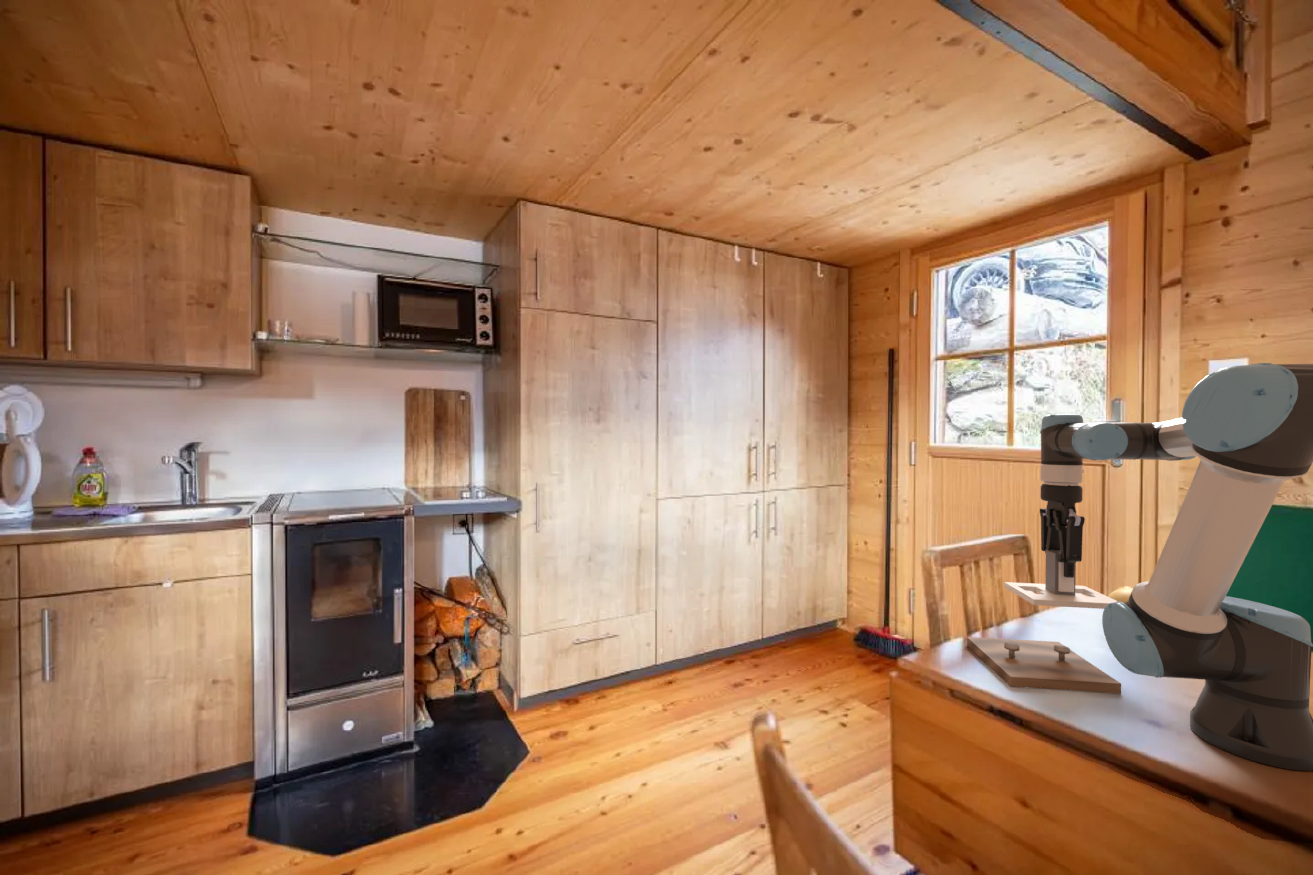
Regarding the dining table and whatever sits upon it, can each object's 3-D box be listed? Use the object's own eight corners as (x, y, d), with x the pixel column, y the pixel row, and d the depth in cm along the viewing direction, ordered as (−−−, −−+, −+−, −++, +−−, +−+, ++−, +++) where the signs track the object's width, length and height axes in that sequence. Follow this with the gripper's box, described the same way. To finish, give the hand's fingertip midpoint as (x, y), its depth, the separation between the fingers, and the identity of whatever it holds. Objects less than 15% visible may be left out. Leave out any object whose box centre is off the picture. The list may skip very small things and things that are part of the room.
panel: (1123, 609, 114) (1124, 560, 114) (1033, 605, 117) (1034, 557, 117) (1083, 590, 128) (1084, 547, 128) (1004, 586, 131) (1004, 544, 131)
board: (1121, 693, 108) (1121, 670, 107) (1010, 686, 110) (1011, 663, 110) (1058, 650, 128) (1058, 630, 128) (966, 645, 131) (967, 626, 131)
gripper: (1104, 487, 113) (1103, 600, 113) (1058, 480, 130) (1057, 579, 130) (1063, 487, 115) (1062, 598, 115) (1024, 480, 131) (1023, 577, 132)
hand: (1060, 588), depth 122 cm, fingers closed on panel, 4 cm apart
